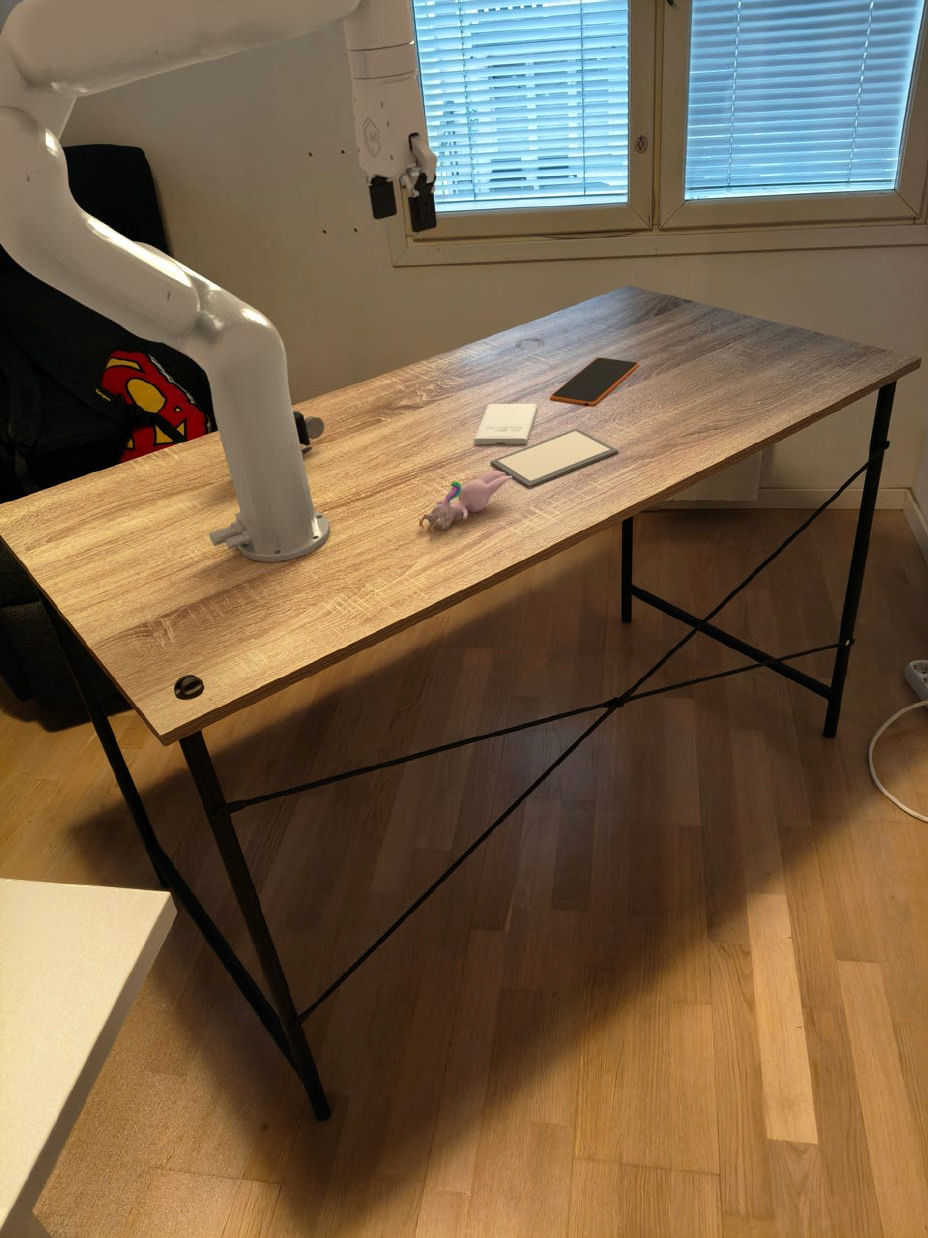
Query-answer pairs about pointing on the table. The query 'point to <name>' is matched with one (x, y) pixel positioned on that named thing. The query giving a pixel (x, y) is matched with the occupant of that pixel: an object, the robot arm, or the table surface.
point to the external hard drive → (506, 424)
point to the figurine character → (307, 428)
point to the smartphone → (594, 381)
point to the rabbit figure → (464, 499)
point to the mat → (553, 457)
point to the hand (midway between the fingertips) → (404, 222)
